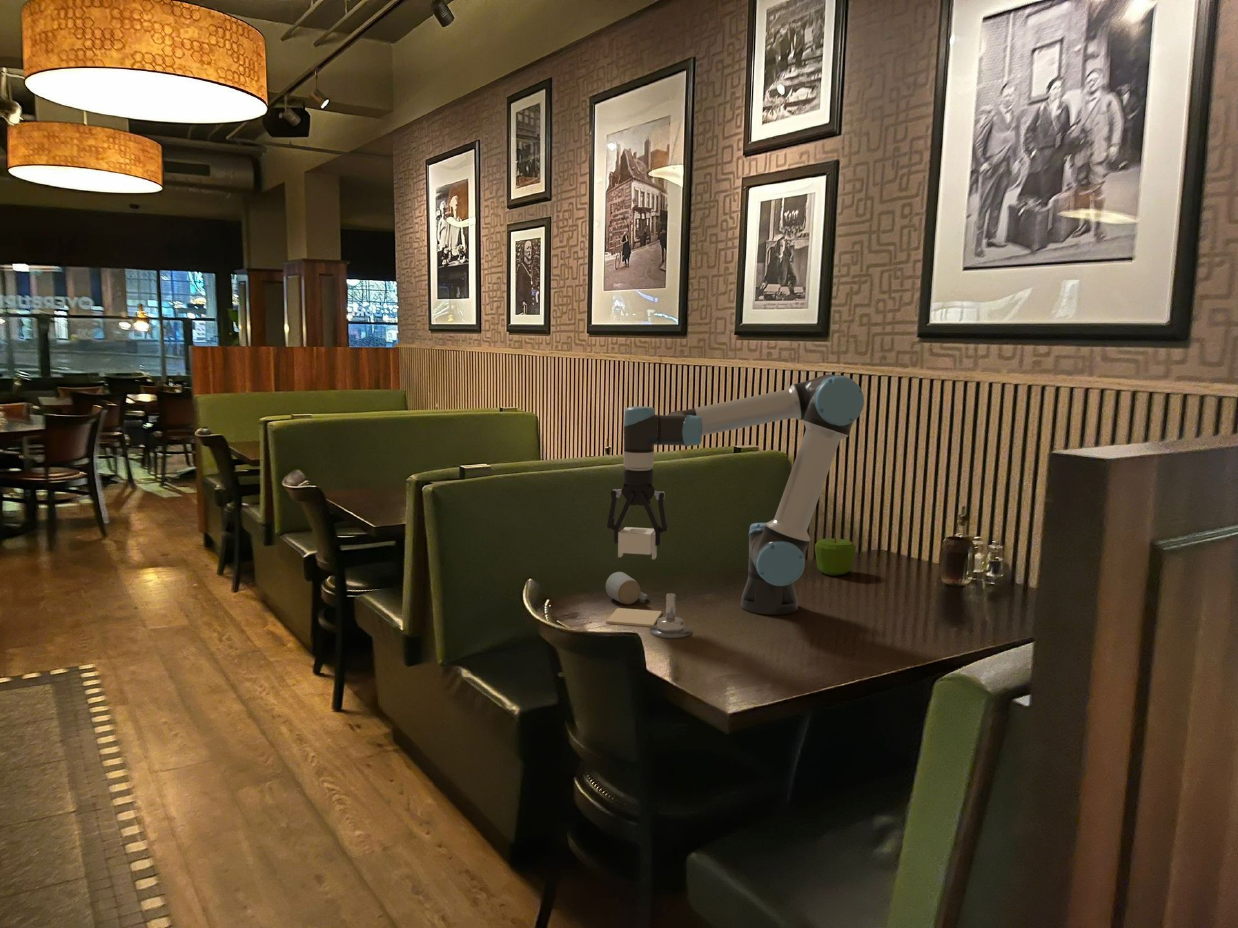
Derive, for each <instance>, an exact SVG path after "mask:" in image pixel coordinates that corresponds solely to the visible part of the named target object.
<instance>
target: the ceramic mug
mask: <svg viewBox="0 0 1238 928" xmlns="http://www.w3.org/2000/svg"><path fill="white" fill-rule="evenodd" d="M605 592H606V594H607V595H608V596H609V597H610V598H611V599H613V600H615V601H617V602H618V603H620V604H623V605H625V606H626V605H633V604H634V603H636V602H637V601H638V600H641V601H643V602H644V601H646V600H647V597H648V595H647V593H644V592H642V591H641V586H640V584H639V582H637V580H635V578H632V577H631V576H629V575H628V574H627V573H625V572H623V571H616V572H613V573H612V574H610V575H609V577H608V578H607V580H606V582H605Z"/></svg>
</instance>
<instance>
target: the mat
mask: <svg viewBox="0 0 1238 928" xmlns="http://www.w3.org/2000/svg"><path fill="white" fill-rule="evenodd" d="M662 614H663V612H662V611H661V610H653V609H652V610H649V609H637V608H635V609H634V608H624V607H623V608H621V607H617V608H616V609H615V610H614V611H613V612H612V614H611V615H610V616H609V617H608V618H607V620H606V621H605V622H606V623H605V624H610V625H622V626H624V625H625V626H632V627H633V626H635V627H648V628H651V627H653V626H655V625H656V622H657V620H658V619H659V618H661V616H662Z"/></svg>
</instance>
